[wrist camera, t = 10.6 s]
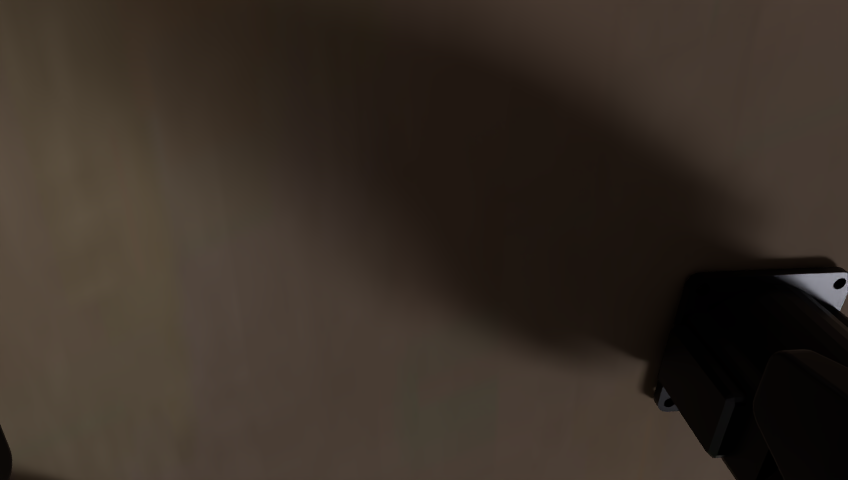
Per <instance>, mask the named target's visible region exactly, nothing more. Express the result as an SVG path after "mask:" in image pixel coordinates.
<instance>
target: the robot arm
mask: <svg viewBox="0 0 848 480" xmlns="http://www.w3.org/2000/svg"><path fill="white" fill-rule="evenodd" d="M836 280H837V281H836ZM835 281H836V282H835ZM702 284H704V285H703V286H702V287H701V288H700V289H697V288H698V287H699V286H700V285H702ZM847 293H848V272H847V271H845V270H844V269H843V268H841V267H822V268H797V269H773V270H748V271H723V272H700V273H696V274H694V275H692V276H691V277H690V278H689V279H688V280H687V281H686V283H685V286H684V290H683V293H682V297H681V300H680V304H679V308H678V311H677V315H676V318H675V322H674V326H673V328H672V329H671V331H670V335H669V338H668V342H667V345H666V349H665V353H664V356H663V360H662V364H661V367H660V371H659V374H658V379H659V380H658V383H657V387H656V391H655V394H654V401H655V403H656V404H657V406H658V408H659V409H660V410H662V411H666V412H669V411H680V413H681V414H682V416H683V417H684V419H685V420H686V422H687V423H688V425H689V427H690V428H691V430H692V431H693V433H694V434H695V436H696V437H697V439H698V440H699V442H700V443H701V445H702V446H703V448H704V449H705V451H706V452H707V453H708V454H709V455H710V456H711V457H712V458H720V457H721V458H722V460H723V461H724V463H725V464H726V466H727V467H728V469H729V470H730V472H731V473H732V475H733V476H734V477H735V479H736V480H848V318H847V317H846V316H845V315H844V314H842V313H841V312H840V310H841V307H842V305H843V303H844V300H845V298H846V296H847ZM668 398H669V399H668ZM11 470H12V455H11V451H10V448H9V445H8V443H7V440H6V438H5V435H4V433H3V430H2V428H1V425H0V480H9V479H10V475H11Z"/></svg>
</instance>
